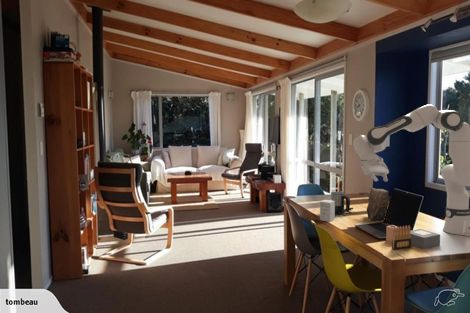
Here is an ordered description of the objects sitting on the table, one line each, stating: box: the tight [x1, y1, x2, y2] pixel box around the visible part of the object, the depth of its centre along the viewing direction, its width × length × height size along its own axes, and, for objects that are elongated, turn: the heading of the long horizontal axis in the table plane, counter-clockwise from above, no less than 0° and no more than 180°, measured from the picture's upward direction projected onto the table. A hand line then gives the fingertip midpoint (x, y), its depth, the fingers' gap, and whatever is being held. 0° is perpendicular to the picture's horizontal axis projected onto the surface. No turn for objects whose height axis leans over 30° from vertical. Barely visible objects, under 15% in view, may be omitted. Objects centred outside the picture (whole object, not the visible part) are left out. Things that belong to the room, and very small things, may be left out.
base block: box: [410, 228, 441, 250], centre depth 208 cm, size 12×12×6 cm
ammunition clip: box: [391, 224, 412, 251], centre depth 202 cm, size 11×2×12 cm, turn 107°
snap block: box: [385, 224, 398, 244], centre depth 214 cm, size 5×5×9 cm
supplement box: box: [319, 199, 336, 223], centre depth 260 cm, size 7×7×13 cm
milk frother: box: [330, 191, 354, 216], centre depth 279 cm, size 14×16×15 cm
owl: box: [366, 187, 390, 222], centre depth 260 cm, size 13×13×20 cm
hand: (381, 180), depth 221 cm, fingers open, 8 cm apart
